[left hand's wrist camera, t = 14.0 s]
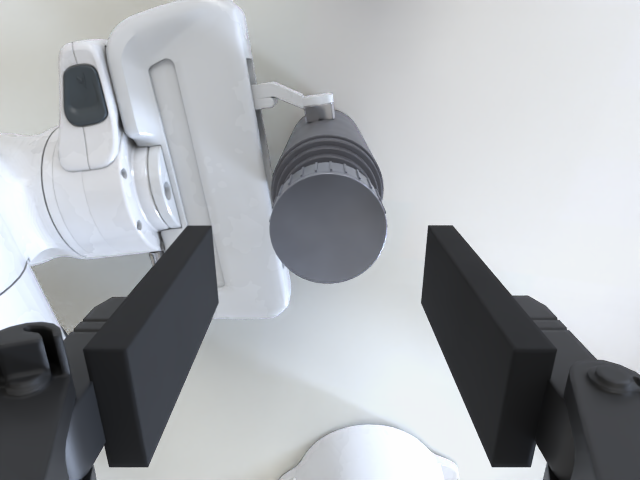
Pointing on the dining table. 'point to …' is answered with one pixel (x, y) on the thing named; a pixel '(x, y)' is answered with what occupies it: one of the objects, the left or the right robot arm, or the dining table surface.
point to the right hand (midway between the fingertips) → (340, 160)
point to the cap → (328, 223)
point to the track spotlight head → (326, 150)
